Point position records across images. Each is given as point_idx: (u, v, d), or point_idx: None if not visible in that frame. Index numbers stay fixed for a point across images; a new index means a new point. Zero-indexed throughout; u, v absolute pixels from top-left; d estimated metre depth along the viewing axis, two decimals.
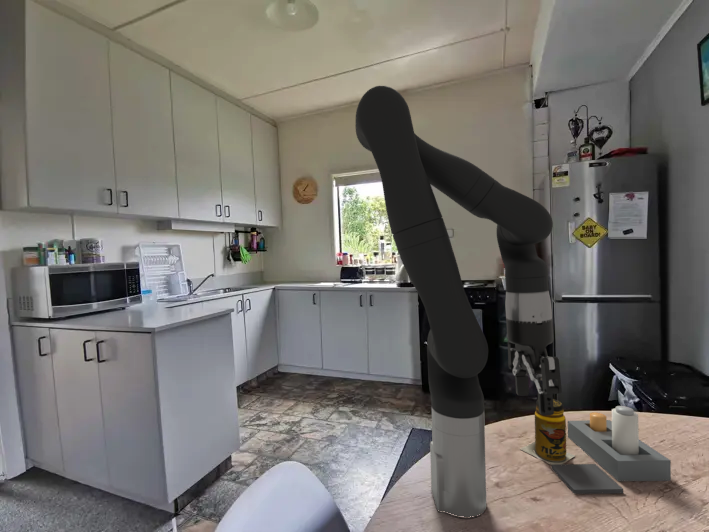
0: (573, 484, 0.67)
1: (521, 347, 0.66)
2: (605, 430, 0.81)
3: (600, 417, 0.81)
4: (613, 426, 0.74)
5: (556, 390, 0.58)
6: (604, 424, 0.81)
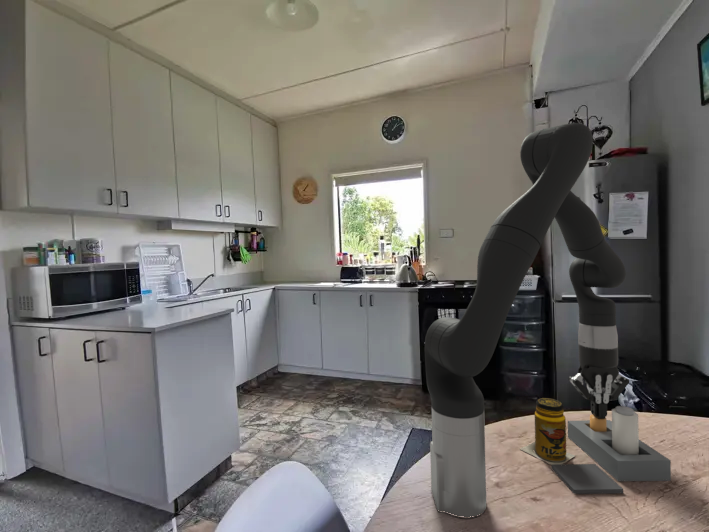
0: (573, 484, 0.67)
1: (596, 370, 0.81)
2: None
3: (600, 419, 0.81)
4: (613, 426, 0.74)
5: None
6: (604, 426, 0.81)
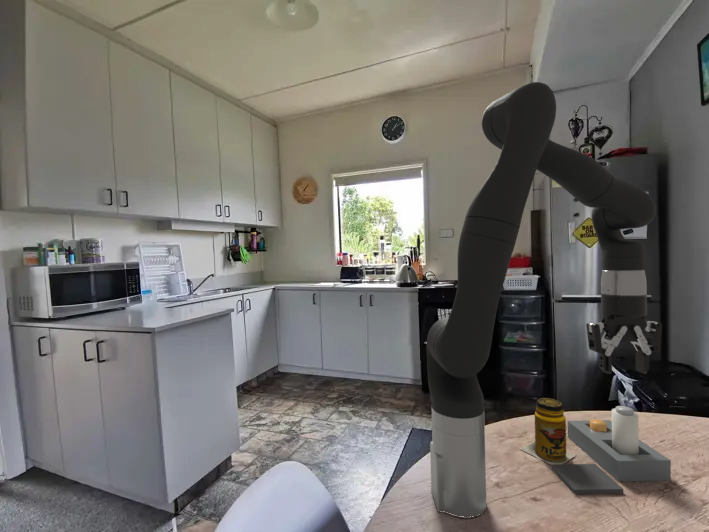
0: (573, 484, 0.67)
1: (621, 322, 0.72)
2: None
3: (600, 424, 0.81)
4: (613, 426, 0.74)
5: None
6: (604, 431, 0.81)
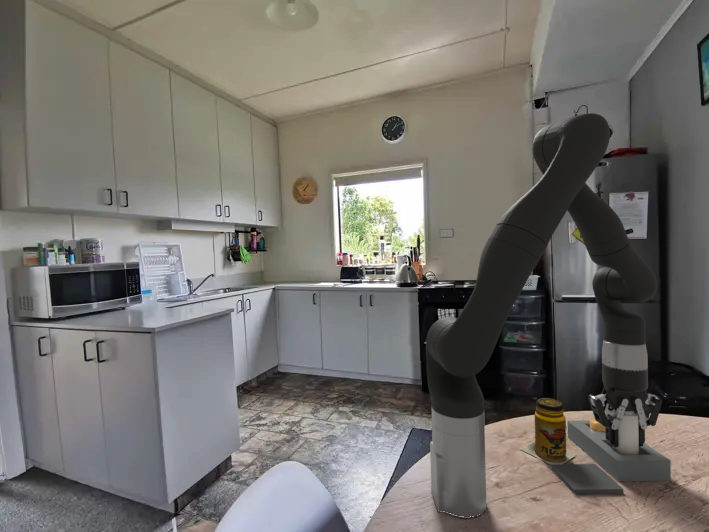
0: (573, 484, 0.67)
1: (622, 394, 0.72)
2: None
3: (600, 424, 0.81)
4: None
5: None
6: (604, 431, 0.81)
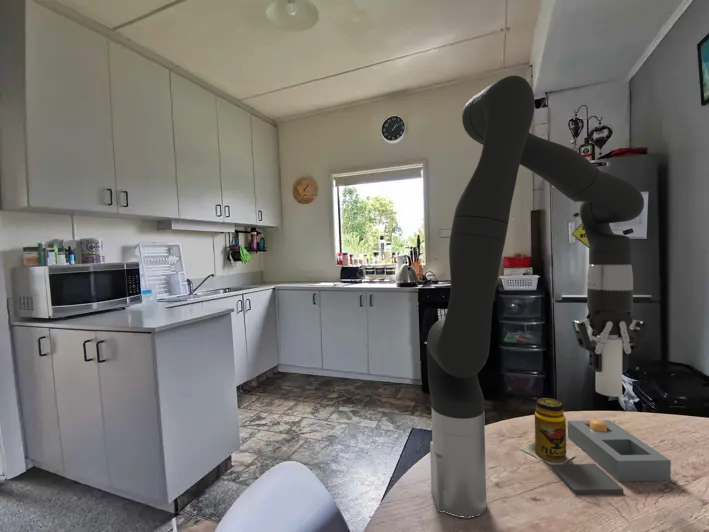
0: (573, 484, 0.67)
1: (607, 317, 0.71)
2: None
3: (600, 424, 0.81)
4: None
5: None
6: (604, 431, 0.81)
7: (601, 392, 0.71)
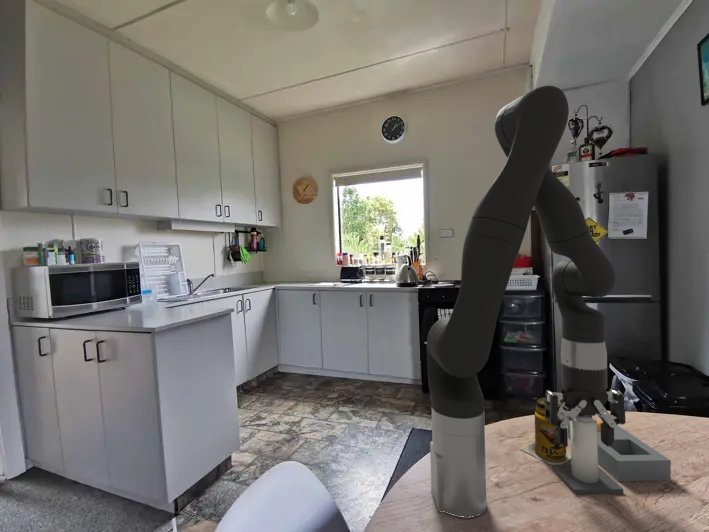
0: (573, 484, 0.67)
1: (581, 394, 0.68)
2: None
3: (600, 424, 0.81)
4: (571, 434, 0.70)
5: None
6: None
7: (577, 477, 0.69)
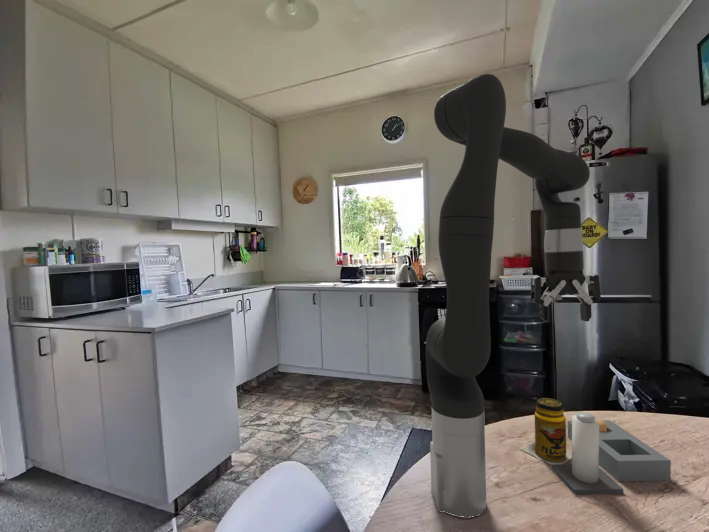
0: (573, 484, 0.67)
1: (561, 276, 0.79)
2: None
3: (600, 424, 0.81)
4: (573, 433, 0.70)
5: None
6: (604, 431, 0.81)
7: (577, 476, 0.69)
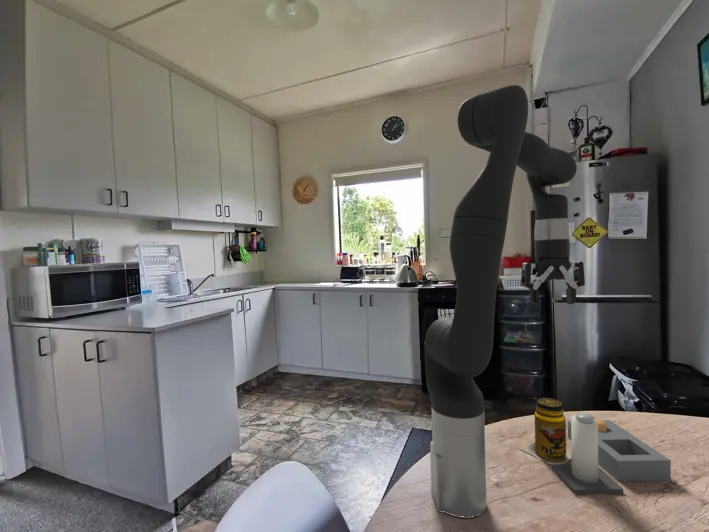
0: (573, 484, 0.67)
1: (549, 263, 0.86)
2: None
3: (600, 424, 0.81)
4: (572, 434, 0.70)
5: None
6: (604, 431, 0.81)
7: (576, 477, 0.69)
